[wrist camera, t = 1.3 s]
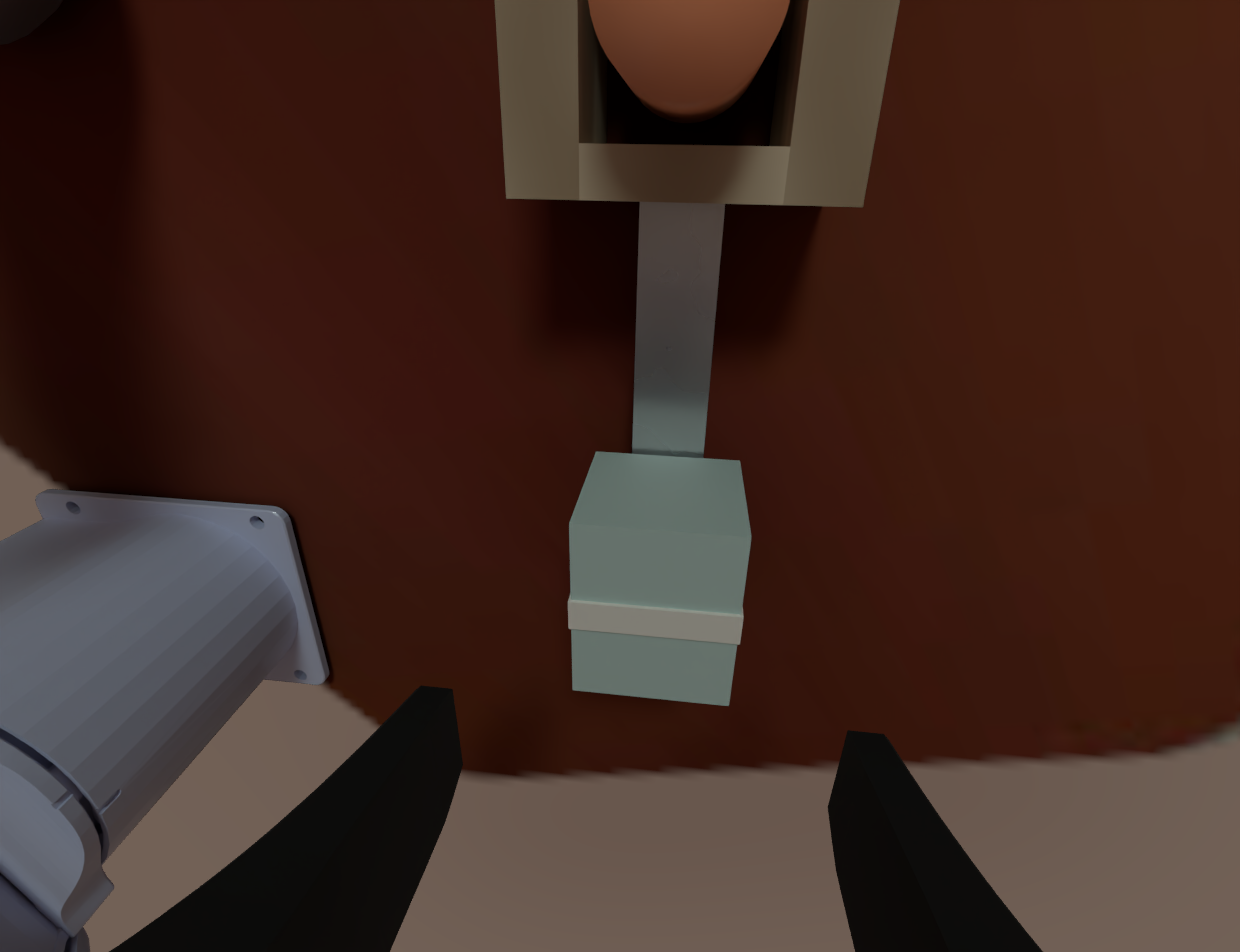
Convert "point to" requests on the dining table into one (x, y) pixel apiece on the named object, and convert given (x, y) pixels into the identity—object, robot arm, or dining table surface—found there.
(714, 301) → the rail
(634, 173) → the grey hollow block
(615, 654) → the block
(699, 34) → the button
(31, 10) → the plastic bottle
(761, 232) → the dining table surface
